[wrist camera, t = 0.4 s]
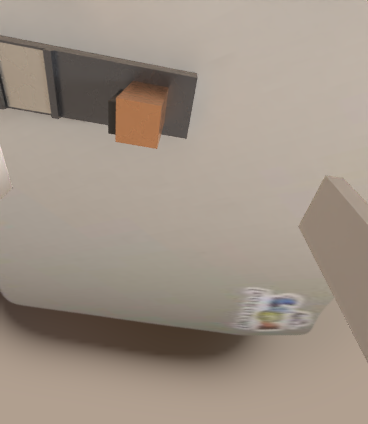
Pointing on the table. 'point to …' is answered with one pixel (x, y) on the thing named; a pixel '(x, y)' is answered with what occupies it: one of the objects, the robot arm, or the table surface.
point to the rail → (97, 90)
